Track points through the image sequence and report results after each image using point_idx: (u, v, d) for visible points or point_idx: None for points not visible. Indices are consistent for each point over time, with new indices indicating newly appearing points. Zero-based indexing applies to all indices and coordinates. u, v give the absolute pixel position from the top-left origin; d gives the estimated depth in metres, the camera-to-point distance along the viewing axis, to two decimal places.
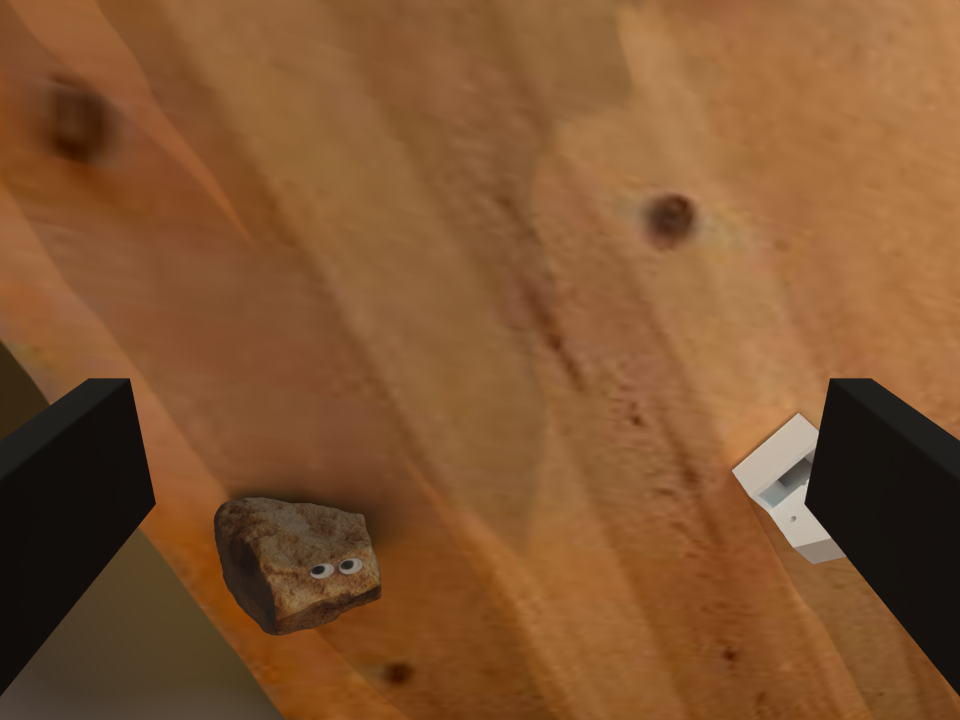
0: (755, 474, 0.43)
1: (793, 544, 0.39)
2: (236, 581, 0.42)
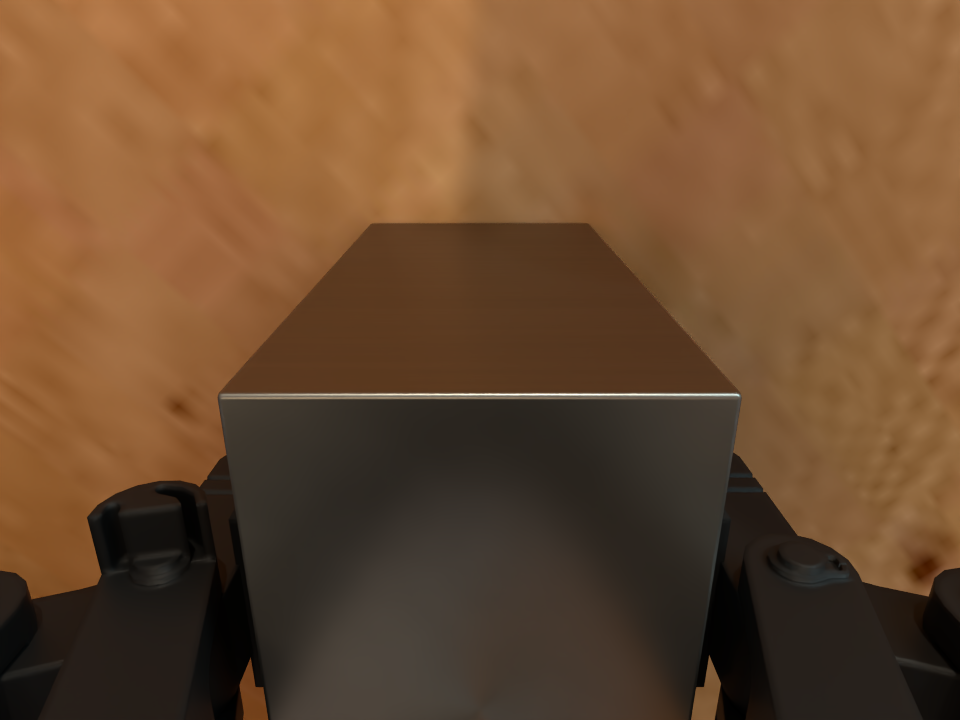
0: None
1: None
2: None
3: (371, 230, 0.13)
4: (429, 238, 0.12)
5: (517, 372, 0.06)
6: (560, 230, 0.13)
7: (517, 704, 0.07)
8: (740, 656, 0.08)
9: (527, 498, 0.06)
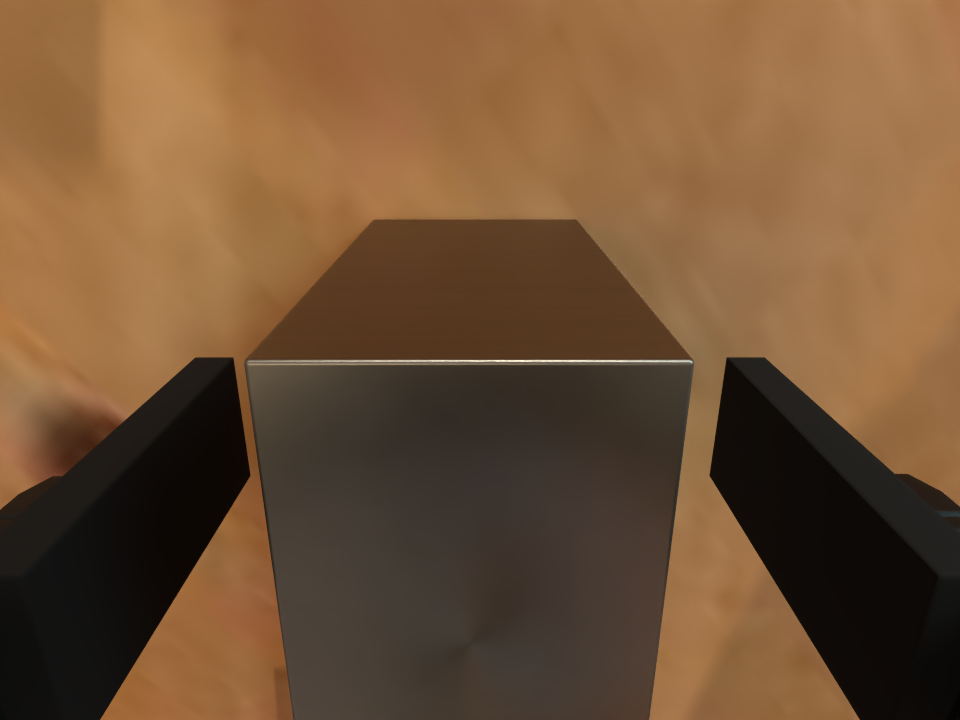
0: None
1: None
2: None
3: (373, 226, 0.14)
4: (427, 233, 0.13)
5: (502, 344, 0.07)
6: (549, 225, 0.14)
7: (504, 638, 0.08)
8: None
9: (510, 453, 0.07)
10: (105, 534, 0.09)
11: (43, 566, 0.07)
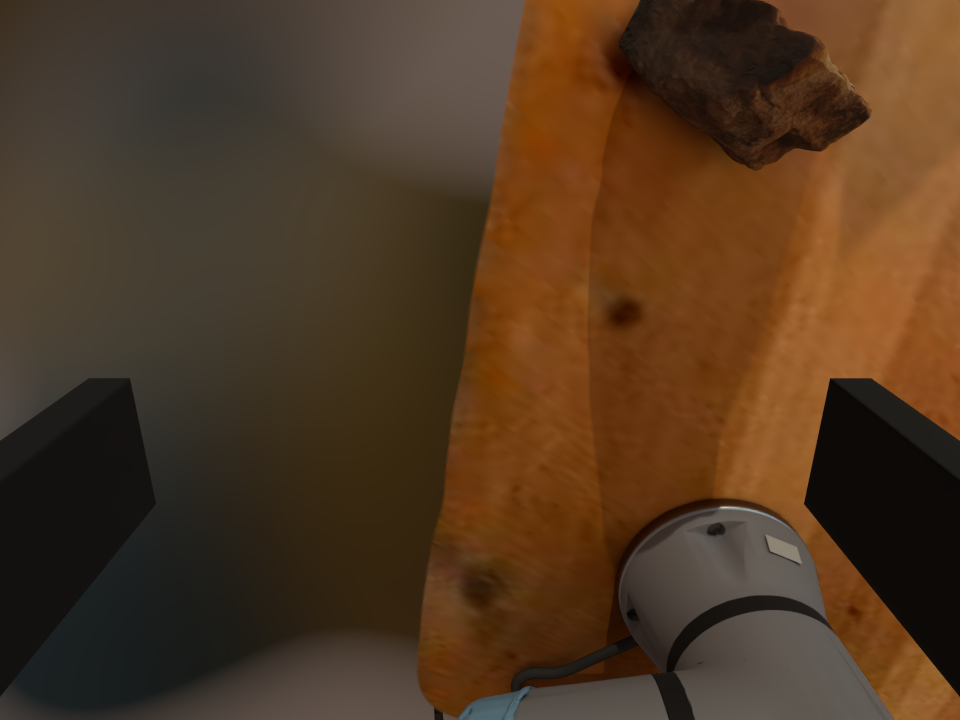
0: None
1: None
2: (672, 46, 0.34)
3: None
4: None
5: None
6: None
7: None
8: None
9: None
10: None
11: None
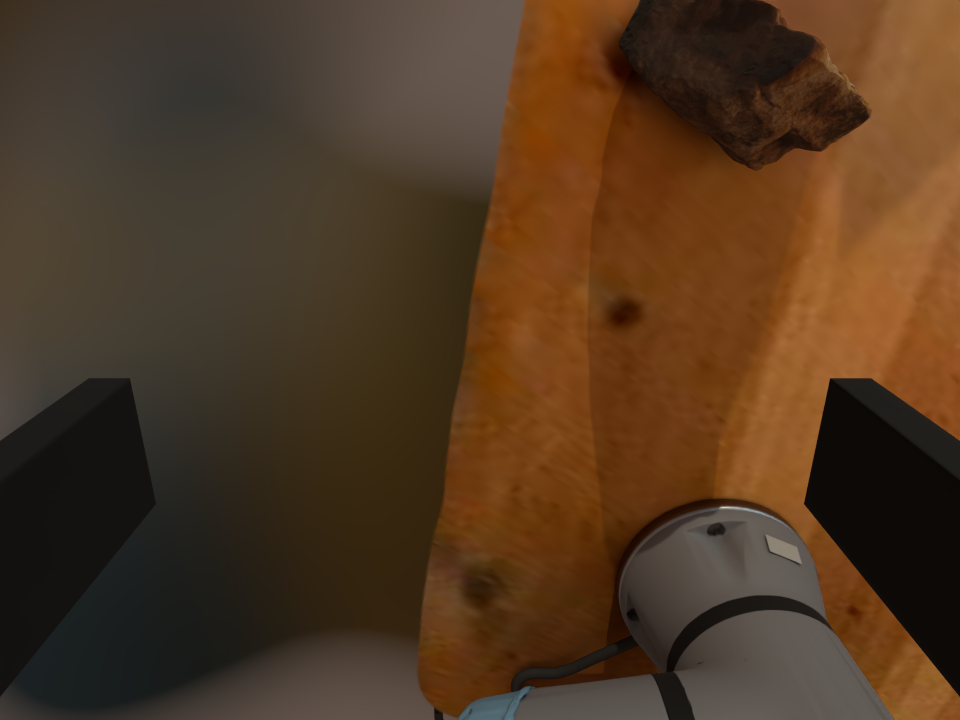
0: None
1: None
2: (672, 46, 0.34)
3: None
4: None
5: None
6: None
7: None
8: None
9: None
10: None
11: None
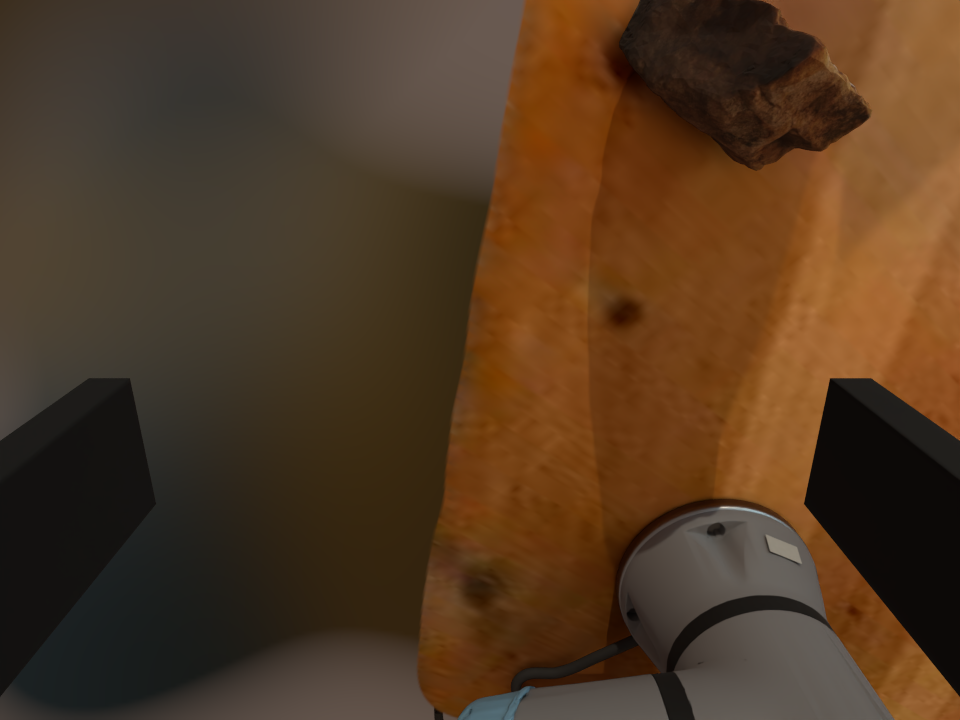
0: None
1: None
2: (672, 46, 0.34)
3: None
4: None
5: None
6: None
7: None
8: None
9: None
10: None
11: None
